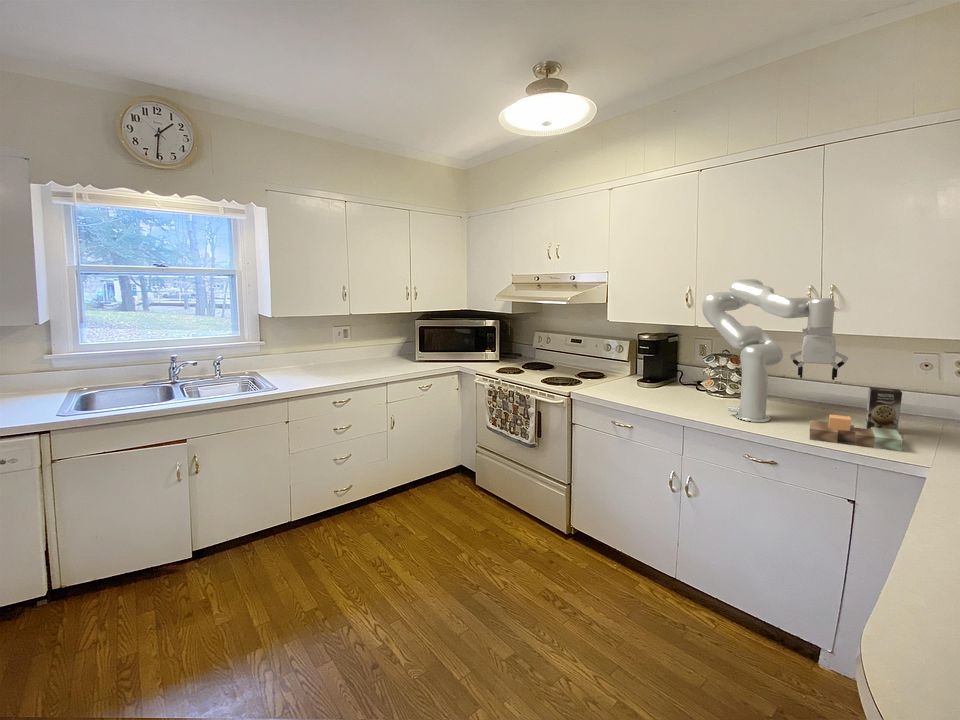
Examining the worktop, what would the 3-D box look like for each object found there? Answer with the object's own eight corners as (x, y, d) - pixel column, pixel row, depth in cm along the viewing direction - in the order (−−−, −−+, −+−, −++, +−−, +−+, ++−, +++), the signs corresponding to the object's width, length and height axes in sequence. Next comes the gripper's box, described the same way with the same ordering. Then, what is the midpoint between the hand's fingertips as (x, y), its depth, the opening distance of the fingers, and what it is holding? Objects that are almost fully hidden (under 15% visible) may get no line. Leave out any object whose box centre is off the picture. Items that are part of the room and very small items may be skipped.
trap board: (809, 439, 170) (810, 428, 169) (809, 430, 180) (810, 420, 180) (901, 451, 155) (902, 440, 155) (895, 440, 166) (896, 429, 165)
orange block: (829, 428, 169) (829, 417, 169) (828, 424, 173) (829, 414, 173) (850, 430, 166) (851, 419, 165) (849, 427, 170) (850, 416, 169)
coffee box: (866, 431, 177) (870, 389, 175) (864, 426, 182) (868, 386, 180) (897, 434, 172) (902, 392, 170) (894, 430, 177) (899, 388, 175)
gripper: (790, 332, 172) (788, 378, 174) (850, 333, 162) (847, 381, 164) (791, 330, 178) (789, 375, 180) (849, 331, 168) (845, 378, 170)
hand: (816, 378), depth 172 cm, fingers open, 9 cm apart
